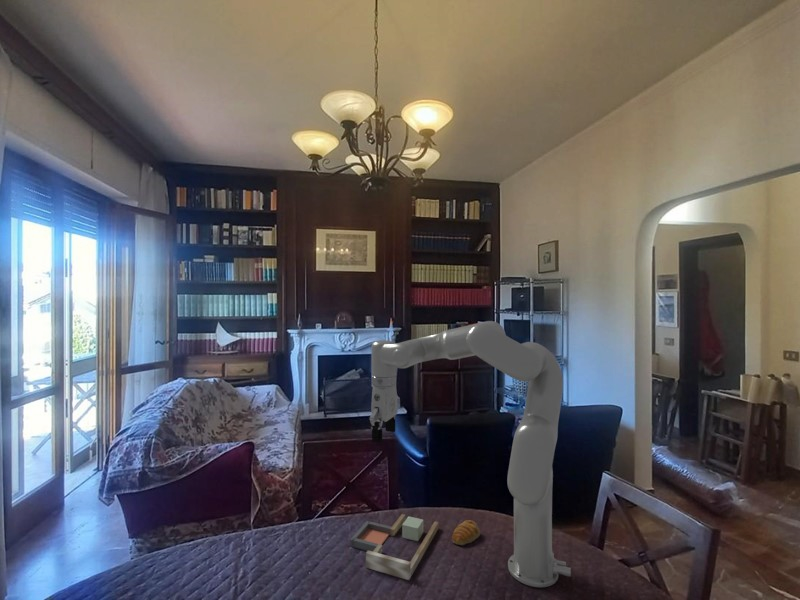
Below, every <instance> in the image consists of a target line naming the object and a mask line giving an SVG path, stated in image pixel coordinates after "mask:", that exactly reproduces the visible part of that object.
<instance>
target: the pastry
mask: <svg viewBox="0 0 800 600" xmlns="http://www.w3.org/2000/svg"><path fill="white" fill-rule="evenodd" d="M481 534H482V533H481V530H480V527H479V526H478V525H477V523H476V522H475V521H473V520H472V519H471V520H470V519H469V520H468V519H466V520H464V521H463V522H461V523H459V524H458V525H457V526H456V527H455V529H454V531H453V534H452V536H451V538H452V539H451V540H452V544H455V545H459V546H464V545H467V544H472V543H473V542H474V541H476V540H477V539H478V538H479V537H480V535H481Z"/></svg>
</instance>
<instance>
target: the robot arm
mask: <svg viewBox="0 0 800 600" xmlns="http://www.w3.org/2000/svg"><path fill="white" fill-rule="evenodd" d="M473 356H475V357H477V358H479V359H481V360H482V361H483V362H486V363H487V364H488V365H490V366H492V367H493V368H495V369H497V370H498V371H501V372H502V373H503V374H505V375H506V376H508V377H510V378H513V379H514V380H517V381H520V382H528V385H527V386H528V388H527V390H526V391H527V392H526V397H525V398H526V399H525V405H524V410H523V411H524V412H523V416H522V418H521V420H520V423H519V424H518V426H517V428H516V429H515V432H514V436H513V440H512V444H511V445H512V446H511V452H510V458H509V465H508V470H507V476H506V477H507V478H506V479H507V480H506V481H507V482H506V483H507V489H508V490H509V493H510V494H511V496H512V497H513V554H512V555H510V557H509V558H508V561H507V569H508V572H509V573H510V575H511V576H512V577H513V578H514V579H515V580H517V581H518V582H519V583H522V584H524V585H526V586H529V587H532V588H547V587H550V586H553V585H554V584H556V583H557V581H558V580H559V575H563V576H566V577H571V576H572V570H571V569H572V568H571V567H568V566H567V562H566V561H564V560H558V559H557V558H555V554H554V553H555V552H553V516H552V515H553V482H554V480H553V478H554V474H553V473H554V471H553V463H554V457H555V450H556V447H557V446H556V445H557V442H558V433H559V430H558V429H559V419H560V413H561V408H562V407H561V405H562V400H563V399H562V397H563V388H564V379H563V372H562V368H561V366H560V363H559V361H558V360H557V358H556V357H555V355H554V354H553V353H552V352H551V351H550V349H548V348H546V347H545V346H544V345H542V344H539V343H537V342H535V341H533V342H532V341H525V342H522V343H520V342H518V341H516V340H515V339H513V338H511V337H509V336H508V335H506V331H505V329H504V327H503V326H502V325H501V324H500V323H498V322H496V321H495V320H494V321H493V320H487V321H486V320H485V321H483V322H477V323H474V324H469V325H464V326H460V327H455V328H451V329H446V330H443V331H441V332H440V333H436V334H432V335H427V336H422V337H419V338H414V339H408V340H405V341H401V342H396V343H395V342H394V341H392V340H387V339H386V340H376V341H373V342H372V343H371V356H370V357H371V358H370V359H371V387H372V390H371V391H372V392H371V406H370V407H371V410H370V411H371V412H370V413H371V414H370V416H369V423H370V429H371V441H372V442H373V443H379V444H382V443H383V428H382V426H383V423H384V422H385V432H390V433H395V432H396V418H397V414H398V411H399V409H398V408H399V406H398V405H399V404H398V393H397V390H398V389H397V369H408V368H410V367H412V366H414V365H417V364H419V363H425V362H428V361H433V360H439V359H447V360H450V361H452V360H455V361H456V360H459V359H464V358H469V357H473Z"/></svg>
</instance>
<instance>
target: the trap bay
mask: <svg viewBox="0 0 800 600" xmlns="http://www.w3.org/2000/svg"><path fill="white" fill-rule="evenodd" d="M391 527H392V526H390V525H387V524H381V523H378V522H373V521H369V520H366V521H365V522H364V523H363V524H362V525H361V527H360V528H359V529H358V530H357V531H356V532H355V533H354V535H352V537H351V538H350V539H349V547H352V548H354V549H358V550H359V549H360V550H362V551H366V552H367V551H368V550H369V551H372V552H373V551H374V549H375V548H376V547H377V545H378V544H380V545H382V546H383V544H384V543H385V541H386V540H387V538H389V536H391V535H390V529H391Z"/></svg>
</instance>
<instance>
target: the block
mask: <svg viewBox="0 0 800 600" xmlns="http://www.w3.org/2000/svg"><path fill="white" fill-rule="evenodd" d="M401 530H402V531H401V538H403V539H407V540H411V541H414V542H419V540H420V539H421V537H422V535H423V534H424V532H425V531H424V519H422V518H418V517H413V516H407V518H405V522H404V523H403V524H402V526H401Z"/></svg>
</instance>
